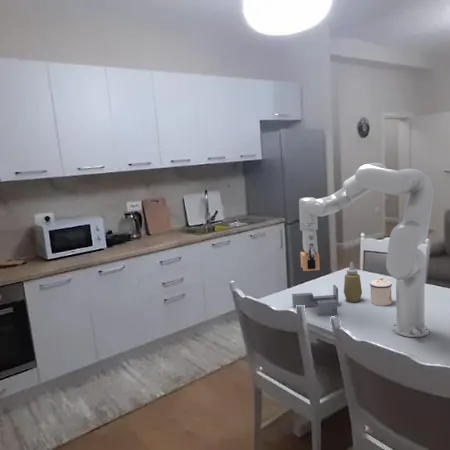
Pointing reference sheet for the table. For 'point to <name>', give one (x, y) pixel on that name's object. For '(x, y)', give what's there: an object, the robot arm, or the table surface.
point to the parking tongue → (327, 307)
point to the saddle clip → (305, 261)
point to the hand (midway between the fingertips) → (310, 266)
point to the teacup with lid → (381, 292)
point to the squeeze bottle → (352, 284)
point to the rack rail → (313, 298)
